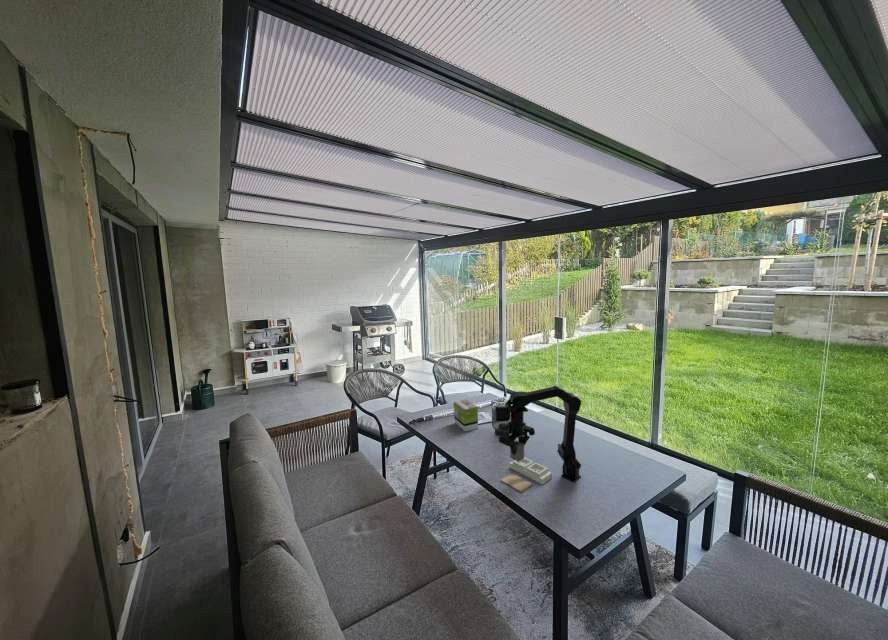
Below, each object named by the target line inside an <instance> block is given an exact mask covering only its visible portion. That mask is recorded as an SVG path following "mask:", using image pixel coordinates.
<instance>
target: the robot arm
mask: <svg viewBox="0 0 888 640" xmlns="http://www.w3.org/2000/svg"><path fill="white" fill-rule="evenodd" d="M555 397H558V398H559V399H560V400H562V401H563V402H562V403H563V408H564V413H565V415H564V424H563V437H562V442H561V443H557V451H556V452H557V453H558V456H559V457H560V458H561V460H562V461H563V464H562V474H561V477H562V478H564V479H566V480H568V481H571V482H574V483H575V482H576V481H577V480H579V479H580V478H582V476H581V474H580V469H581V468H582V464H581V462H580V461H579V460H578V459H577V456H576V449H575V446H574V441H575V433H576V432H575V429H576V420H577V415H578V413H579V411H580V409H581V406H582V401H581V399H580V398H579V397H578V396H576V394H574V393H572V392H567V391H566V390H564V389H562V388H561V387H560V386H558V385H553V386H549V387H545V388H541V389H540V388H539V389H537V390H531V391H514V392H512V393H511V394H510V396H509V399H507V401H506V402H505V405H502V406H499V405H496V406H494V410H493V418H494V422H495V423H497V422H500V423H499V424H498V429H499V431H501V432H507V433H508V434H510V435H508V434H507V433H504V434H502V435H500V436H499V437H498V443H500V444H502V445H505V446H507V447H509V449H510V448H511V451H512V454H513V455H515V453H516V449H517V445H518V443H517V442H516V440H517V439H518V441H519V442H521V443H524V447H525V446H526V444H527V442H528V440H530V438H531V437H532V436H534V435H536V433H535V429H534V427H532V426H528V425H527V424H526V422H525V421H524V416H525V415H524V413H525V412H526V413H527V412H529V409H528V408H527V406H528V405H529V404H531V403H533V402H538V401H543V400H547V399H552V398H555ZM501 422H503V423H501ZM504 422H505V423H504Z"/></svg>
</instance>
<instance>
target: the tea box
mask: <svg viewBox="0 0 888 640" xmlns="http://www.w3.org/2000/svg"><path fill="white" fill-rule="evenodd" d="M478 408H479V407H478V406H477V405H476V404H474V403H473V402H471V401H469V400H468V399H462V400H458V401H454V402H453V416H454V417H453V418H454V422H453V423H454V424H455V425H456V426H458V427H459V428H460V429H461V430H463V431H464V432H469V431H473V430H477V429H479V413H478V410H479V409H478Z"/></svg>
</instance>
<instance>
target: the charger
mask: <svg viewBox="0 0 888 640" xmlns="http://www.w3.org/2000/svg"><path fill="white" fill-rule="evenodd" d="M516 442H517V443H518V445H517V449H516V453H515V455H513V454H512V451H511V448H510V447H509V452H510V453H509V458H510V459H511V460H513V459H514V460H516V461H520V460H521V459H523V458H524V457H525V446H524V443H521V442H519V440H517V439H516Z"/></svg>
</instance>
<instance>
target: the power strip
mask: <svg viewBox="0 0 888 640" xmlns="http://www.w3.org/2000/svg"><path fill="white" fill-rule="evenodd" d="M509 468H510V469H511V470H513V471H515V472H516V473H517V472H518V473H519V474H521V475H523V476H525V477H527V478H529V479H531V480H533V481H534V482H537V483H539V484H541V485H544V484H546V482H548V481H549V480H551V479H552V478H553V473H552V472H551V471H549V468H548V467H547V466H544V465H542V464H540V463H537V462H535V461H533V460H531V459H529V458H527V457H525V456H524V458H523V459H521V460H520V461H516V460H514V459H512V461H510V462H509Z"/></svg>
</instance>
